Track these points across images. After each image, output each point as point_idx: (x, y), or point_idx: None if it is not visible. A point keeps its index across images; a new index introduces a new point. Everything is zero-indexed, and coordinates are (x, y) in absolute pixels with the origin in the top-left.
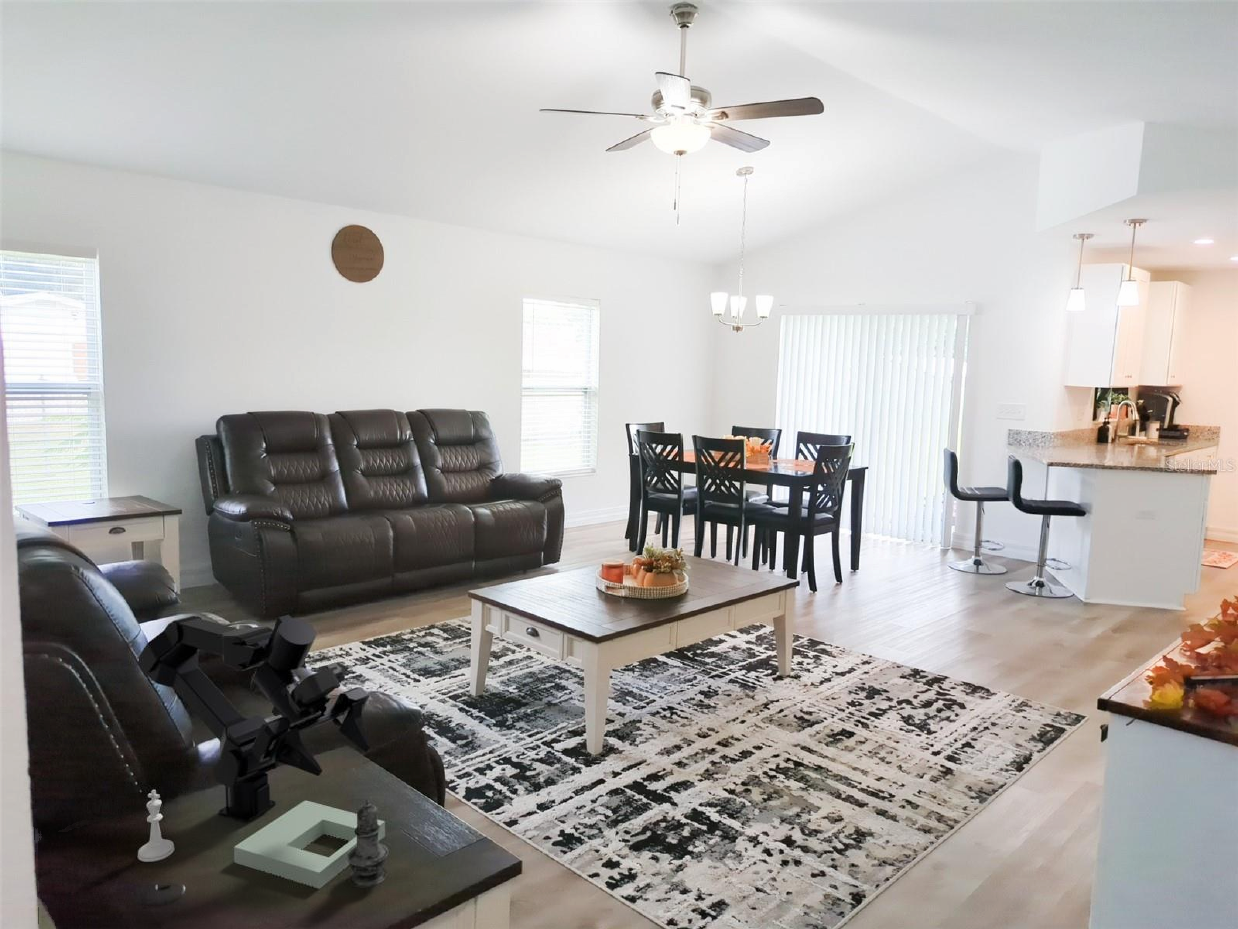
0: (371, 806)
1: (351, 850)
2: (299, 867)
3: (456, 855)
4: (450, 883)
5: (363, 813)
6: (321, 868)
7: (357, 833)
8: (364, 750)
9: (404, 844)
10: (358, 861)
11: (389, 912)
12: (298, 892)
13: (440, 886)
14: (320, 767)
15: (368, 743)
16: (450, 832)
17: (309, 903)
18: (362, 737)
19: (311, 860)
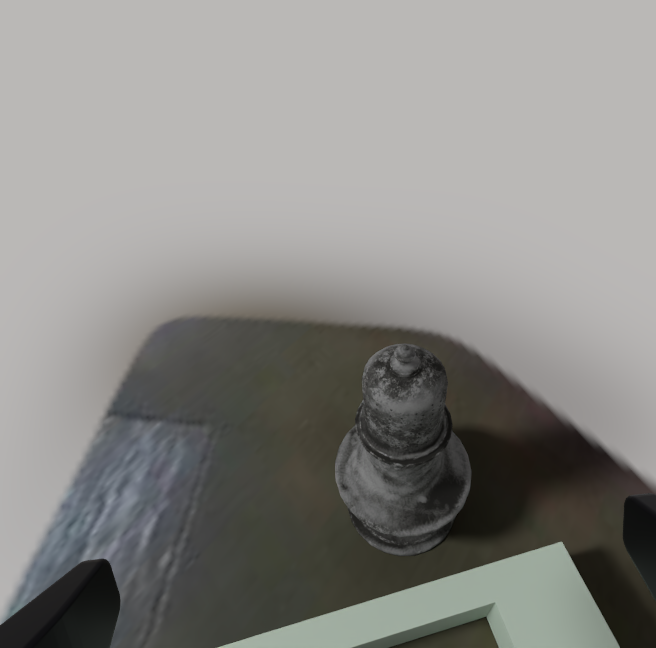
0: (391, 354)
1: (432, 522)
2: (616, 642)
3: (189, 404)
4: (285, 339)
5: (435, 356)
6: (545, 558)
7: (448, 420)
8: (110, 629)
9: (216, 558)
10: (450, 445)
11: (442, 351)
12: (614, 603)
13: (306, 345)
14: (650, 505)
15: (64, 579)
16: (97, 499)
17: (598, 520)
18: (32, 644)
19: (559, 643)
